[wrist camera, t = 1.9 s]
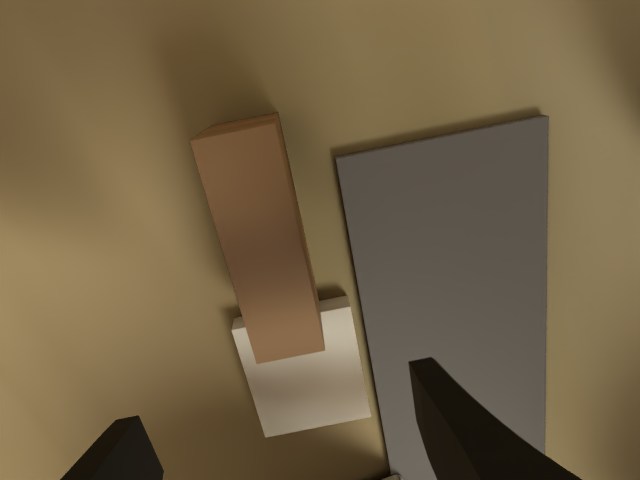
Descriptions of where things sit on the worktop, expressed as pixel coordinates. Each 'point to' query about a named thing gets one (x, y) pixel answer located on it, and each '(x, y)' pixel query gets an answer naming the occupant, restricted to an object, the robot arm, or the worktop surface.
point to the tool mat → (453, 273)
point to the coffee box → (393, 477)
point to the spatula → (277, 284)
